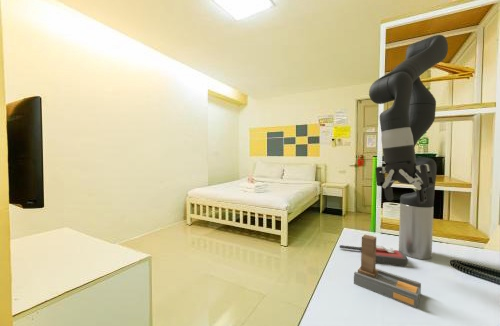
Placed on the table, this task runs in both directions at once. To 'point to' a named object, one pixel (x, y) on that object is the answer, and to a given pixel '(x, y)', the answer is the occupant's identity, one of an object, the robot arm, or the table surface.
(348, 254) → the table surface
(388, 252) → the walkie-talkie
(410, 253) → the robot arm
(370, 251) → the brown wooden block
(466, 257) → the table surface
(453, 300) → the table surface
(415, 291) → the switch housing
